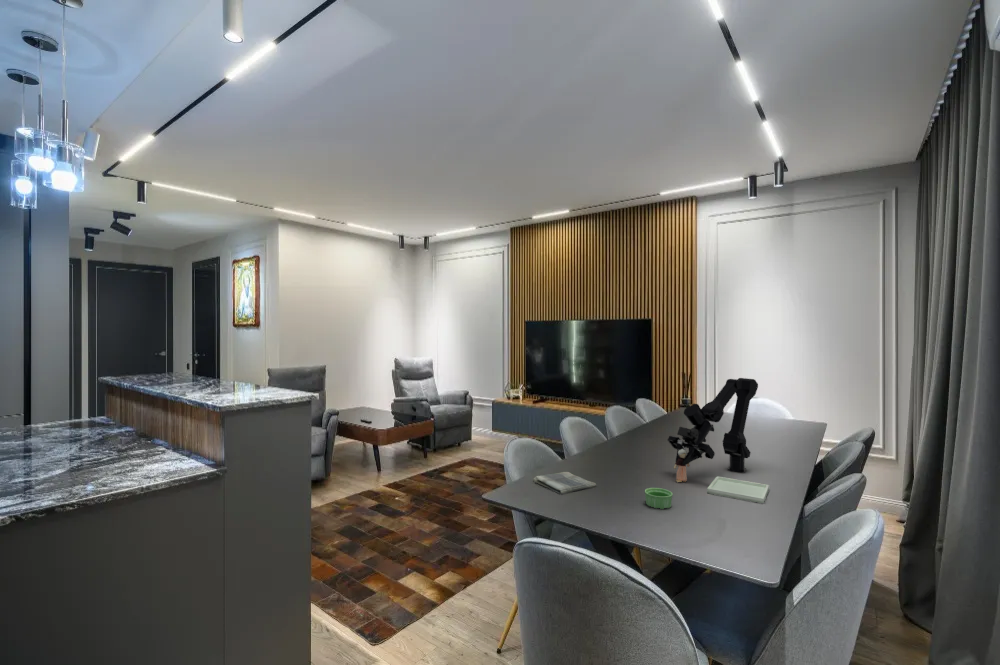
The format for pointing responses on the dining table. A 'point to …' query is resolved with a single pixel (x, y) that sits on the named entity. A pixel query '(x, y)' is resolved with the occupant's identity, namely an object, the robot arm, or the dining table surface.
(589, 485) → the dish towel
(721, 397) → the robot arm
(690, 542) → the dining table surface
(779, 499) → the dining table surface
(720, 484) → the sage tray
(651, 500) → the ramekin
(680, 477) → the grandmother figurine
